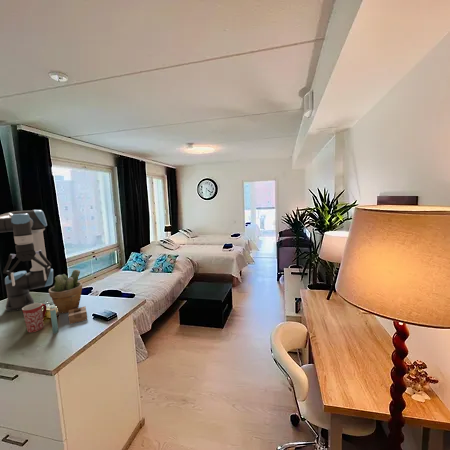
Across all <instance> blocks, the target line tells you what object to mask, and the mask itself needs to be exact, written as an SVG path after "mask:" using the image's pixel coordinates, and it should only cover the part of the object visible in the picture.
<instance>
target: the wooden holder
mask: <svg viewBox="0 0 450 450" xmlns="http://www.w3.org/2000/svg"><path fill="white" fill-rule="evenodd" d="M87 320H88V314H87V307H86V305H85V306H79V307H78V308H76V309H72V310H69V313H68V322H69V323H68V324H69V325H72V324H76V323H80V322H85V321H87Z"/></svg>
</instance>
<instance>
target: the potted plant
mask: <svg viewBox="0 0 450 450" xmlns="http://www.w3.org/2000/svg"><path fill="white" fill-rule="evenodd" d="M80 273H81V270H78V269H74V270H72V272H71V275H70V276H69V277H68V275H66V274H65V273H63V274H58V275H56V276H55V277H54V280H55V281H54V285H53V286H52V287H50V288H49V289H48V295H49V297H50V298H51V300H52V303H53V305H54V307H55V306H57V308H58V311H57V312H58V313H59V314H69V310H72V309H76V308H80V302H81V296H82V291H83V283H82V282H81V281H78V280H79V276H80Z"/></svg>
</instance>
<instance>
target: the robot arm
mask: <svg viewBox="0 0 450 450" xmlns="http://www.w3.org/2000/svg"><path fill="white" fill-rule="evenodd" d="M47 226H48V222H47V218H46V215H45V213H44V211H43V210H42V209H32V210H31V209H30V210H16V211H15V210H14V211H10V212H5V213H3V214H0V233H8V232H9V233H10V232H13V239H14V244H15V251H16V254H15V253H10V254H8V260H7V262H6V265H5V267H4V268H3V271H2V273H3V274H7V276H6V277H5V278H4V286H5V290H6V296H7V300H6V302H5V310H6V311H7V312H15V311H22V308H23V307H25V306H27V305H29V304H33V303H35V300H34V298H33V297H32V295H31V293H30V290H34V289H41V288H47V287H50V286H52V285H53V283H54V269H53V268H51V267H52V263H51V262H50V261H49V260H48V258H47V252H46V247H45V246H46V245H45V239H44V238H45V237H44V231H45V230H46V227H47ZM15 257H16V258H17V260H16V262H15V263H14V264H13V265H12V267H10V265H11V262H12V261H13V259H15ZM26 261H28V262H30V261H31V268H30V269H29V272H27V270H19V271H17V272H14V270H15V268H16V267H18V265H19V264H20V262H26ZM9 268H10V269H9ZM8 269H9V270H8Z"/></svg>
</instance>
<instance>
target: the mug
mask: <svg viewBox="0 0 450 450" xmlns="http://www.w3.org/2000/svg"><path fill="white" fill-rule="evenodd" d="M21 311H22V313H23V318H24V322H25V326H26V331H27V332H28V333H36V332H38V331H41V330H43V328H44V319H45V316H46V313H47V305H46V304H45V303H41V302H34V303H33V304H29V305H27V306H25V307H23V308H22V309H21Z"/></svg>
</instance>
